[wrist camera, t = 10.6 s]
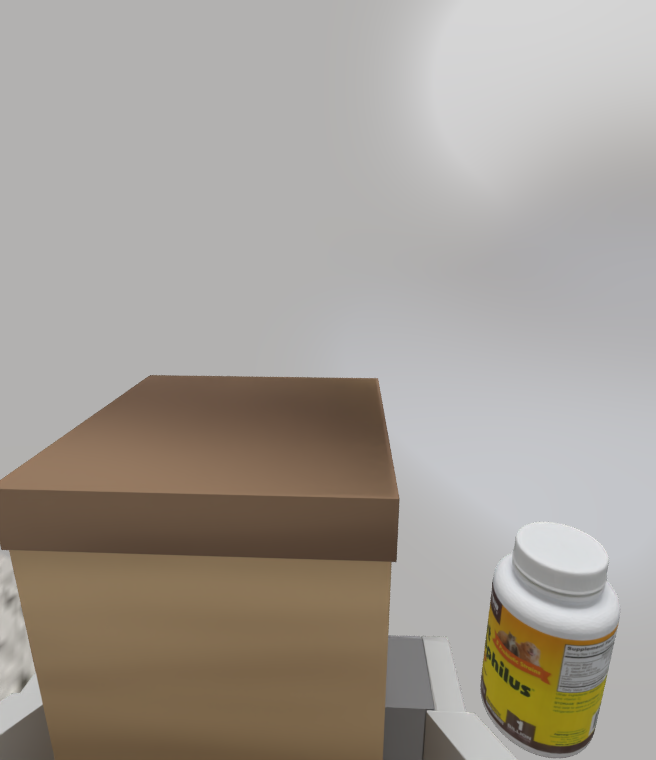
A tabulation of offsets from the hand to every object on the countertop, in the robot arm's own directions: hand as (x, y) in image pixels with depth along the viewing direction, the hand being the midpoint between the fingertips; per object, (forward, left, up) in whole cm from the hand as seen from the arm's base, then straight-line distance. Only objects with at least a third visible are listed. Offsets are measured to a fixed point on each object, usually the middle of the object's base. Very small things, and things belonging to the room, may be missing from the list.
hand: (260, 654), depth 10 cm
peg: (-1, 0, -6) cm, 7 cm away
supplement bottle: (+12, -12, -16) cm, 23 cm away
